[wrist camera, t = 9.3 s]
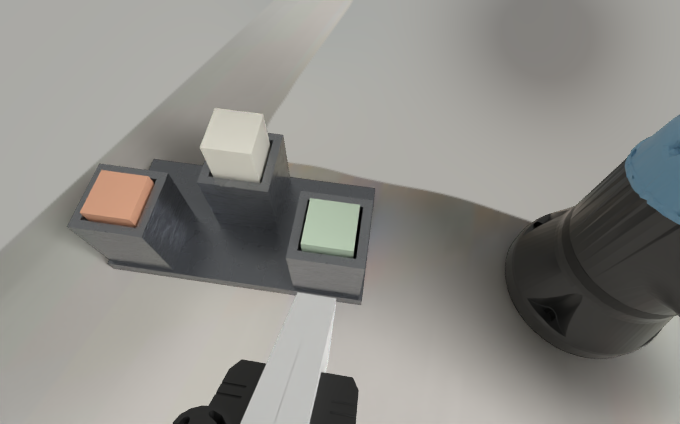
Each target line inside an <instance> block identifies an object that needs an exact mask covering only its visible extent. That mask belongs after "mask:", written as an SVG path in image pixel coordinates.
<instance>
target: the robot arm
mask: <svg viewBox="0 0 680 424" xmlns="http://www.w3.org/2000/svg"><path fill="white" fill-rule="evenodd" d="M505 275H506V282H507V287H508V290H509V293H510V296H511V299H512V301H513V303H514V305H515V307H516V308H517V310H518V312H519V313H520V315H521V316H522V317H523V319H524V320H525V321H526V322H527V324H528V325H529V326H530V327H531V328H532V329H533V330H534V331H535V332H536V333H537V334H539V335H540V336H541V337H542V338H544V339H545V340H546V341H548V342H549V343H551V344H552V345H554V346H556V347H558V348H559V349H562V350H564V351H566V352H568V353H571V354H574V355H577V356H581V357H586V358H594V359H605V358H612V357H617V356H620V355H624V354H628V353H631V352H634V351H636V350H639V349H640V348H642V347H644V346H646V345H647V344H648V343H650V342H651V341H652V340H653V339H654V338H655V337H656V336H657V334H658V333H659V332H660V331H661V329H662V328H663V327H664V326H665V325H666V324H667V323H668V322H669V321H670V320H671V319H672V318H673V317H674V316H676V315H678V316H679V317H680V115H678V116H677V117H675V118H674V119H672V120H671V121H670V122H669V123H667V124H666V125H665V126H664V127H663V128H661V129H660V130H659V131H657V132H656V133H655V134H654V135H653V136H651V137H648V138H646V139H645V140H643V141H641V142H640V143H639V144H637V145H636V146H635V147H634V148H633V149H632V150H631V153H630V154H629V155H628V157H627V158H626V159H625V160H624V161H623V162H622V163H621V164H620V165H619V166H618V167H617V168H616V169H615V170H614V171H613V172H611V173H610V174H609V175H608V176H607V177H606V178H605V179H604V180H603V181H602V182H601V183H600V184H599V185H597V186H596V187H595V188H594V189H593V190H592V191H591V192H590V193H589V194H588V195H587V196H585V198H583V199H582V200H581V201H580V202H579V203H578V204H577V205H576V206H573V207H570V208H567V209H564V210H560V211H558V212H554V213H551V214H548V215H545V216H543V217H541V218H539V219H537V220H535V221H534V222H532V223H531V224H530V225H528V226H527V227H526V228H525V229H524V230H523V231H522V232H521V233H520V234H519V235H518V237H517V238H516V239H515V240H514V242H513V243H512V245H511V247H510V249H509V251H508V254H507V258H506V265H505ZM335 306H336V298H330V297H324V296H318V295H312V294H305V293H299V292H297V295H296V297H295V299H294V301H293V304H292V306H291V308H290V311H289V313H288V315H287V318H286V320H285V322H284V324H283V327H282V329H281V331H280V334H279V336H278V338H277V340H276V343H275V345H274V347H273V350H272V352H271V354H270V357H269V359H268V361H267V363H266V364H265V363H259V362H253V361H248V360H240V361H239V362H238V363H237V364H235V365H234V366H233V367H231V368H230V369H229V370H228V372H227V374H226V376H225V378H224V379H223V381H222V384H221V385H220V387H219V388H218V390H217V392H216V395H214V397H213V399H212V401H211V403H210V404H209V406H199V407H195V408H191V409H189V410H187V411H186V412H184V413H182V414H180V415H179V416H178V418H177V419H176V420H175V421H174V422H173V424H356V413H357V402H358V388H357V386H356V384H355V381H354V379H353V378H352V377H347V376H341V375H335V374H329V373H326V369H327V364H328V359H329V351H330V344H331V336H332V329H333V321H334V313H335Z"/></svg>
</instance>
